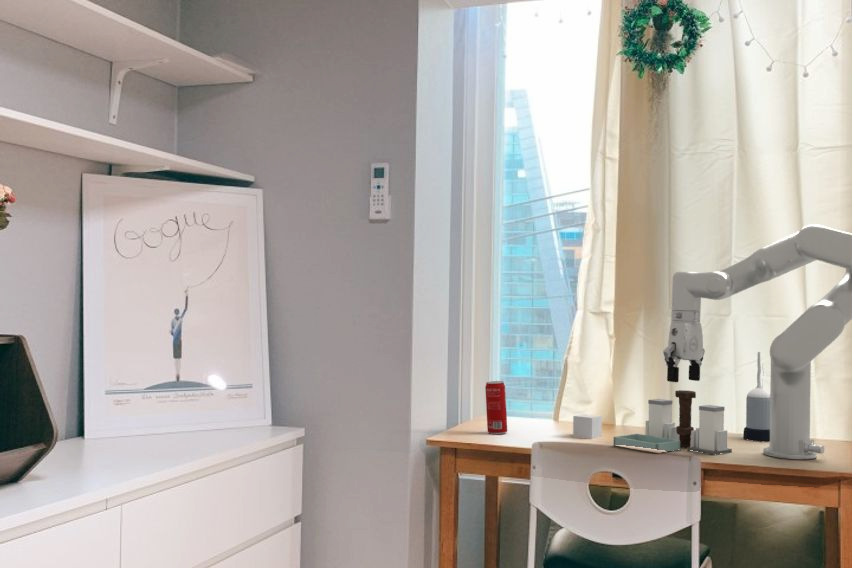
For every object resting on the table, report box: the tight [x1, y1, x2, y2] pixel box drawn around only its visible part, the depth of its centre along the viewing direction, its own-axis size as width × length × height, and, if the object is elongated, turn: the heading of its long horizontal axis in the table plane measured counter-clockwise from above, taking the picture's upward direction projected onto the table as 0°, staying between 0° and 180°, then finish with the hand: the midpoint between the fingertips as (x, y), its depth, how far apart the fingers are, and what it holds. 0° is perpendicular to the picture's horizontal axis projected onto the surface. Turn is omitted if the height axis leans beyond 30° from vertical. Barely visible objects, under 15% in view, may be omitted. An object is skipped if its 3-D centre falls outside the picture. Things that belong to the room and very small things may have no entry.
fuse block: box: [644, 398, 733, 456], centre depth 234 cm, size 23×8×12 cm, turn 39°
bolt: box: [674, 389, 697, 448], centre depth 234 cm, size 6×5×15 cm
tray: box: [613, 433, 681, 452], centre depth 232 cm, size 14×10×2 cm
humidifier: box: [742, 351, 770, 443], centre depth 250 cm, size 8×8×25 cm
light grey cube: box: [572, 413, 603, 440], centre depth 250 cm, size 6×6×6 cm
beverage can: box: [484, 380, 508, 435], centre depth 254 cm, size 6×6×15 cm
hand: (683, 381), depth 235 cm, fingers open, 9 cm apart
